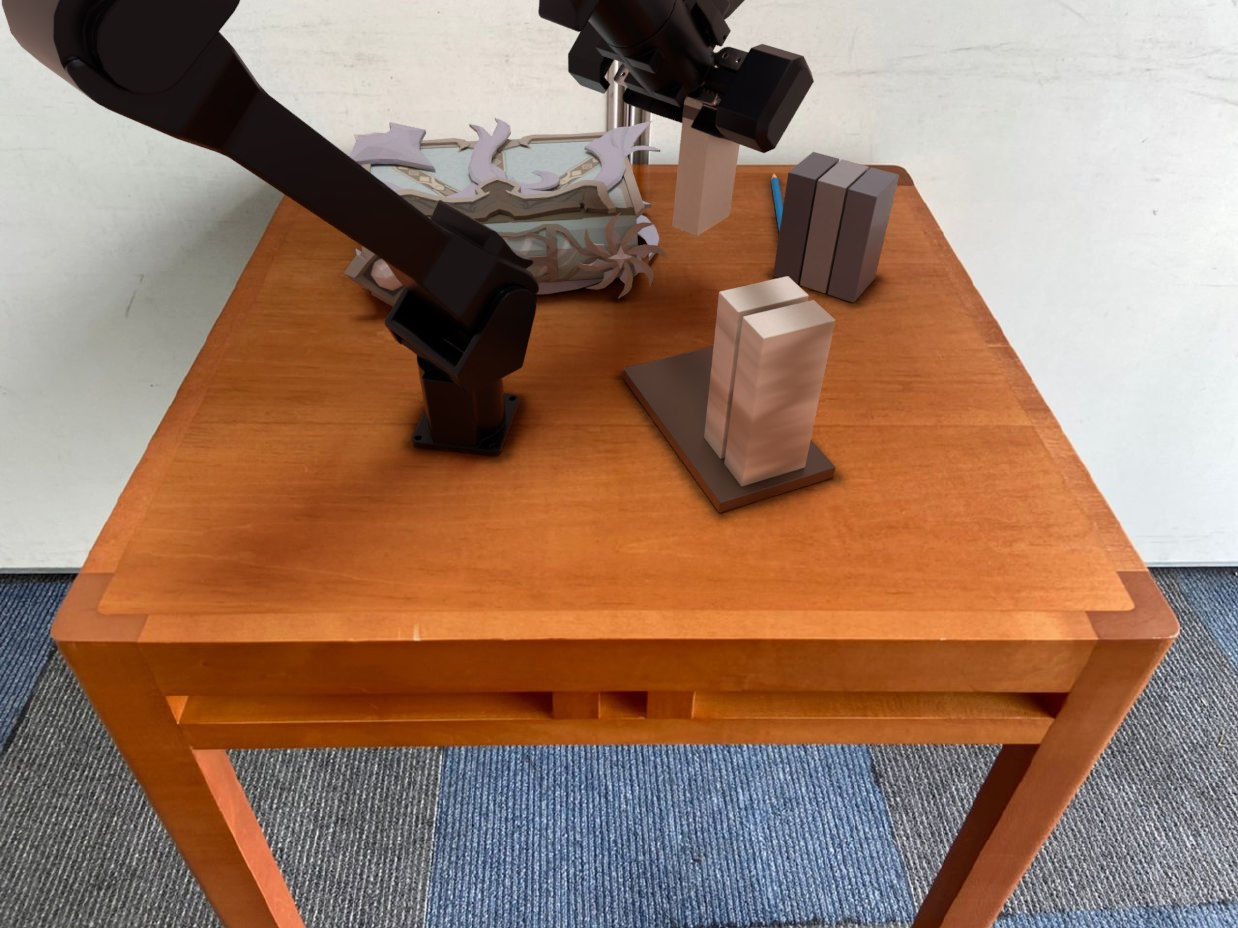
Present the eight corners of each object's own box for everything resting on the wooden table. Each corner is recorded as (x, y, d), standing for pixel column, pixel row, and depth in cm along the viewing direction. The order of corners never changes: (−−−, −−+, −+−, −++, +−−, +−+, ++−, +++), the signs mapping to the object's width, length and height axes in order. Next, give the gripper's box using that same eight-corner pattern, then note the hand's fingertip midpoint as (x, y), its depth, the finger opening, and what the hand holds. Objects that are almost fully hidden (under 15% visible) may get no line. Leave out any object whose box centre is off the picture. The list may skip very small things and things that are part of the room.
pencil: (781, 256, 85) (782, 249, 84) (769, 176, 97) (770, 170, 97) (790, 256, 85) (791, 250, 84) (776, 176, 97) (777, 170, 97)
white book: (696, 237, 73) (714, 85, 65) (671, 227, 74) (685, 76, 66) (730, 216, 76) (751, 68, 68) (705, 206, 77) (722, 60, 69)
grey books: (853, 303, 79) (877, 196, 73) (772, 276, 82) (788, 171, 76) (875, 279, 82) (899, 174, 76) (796, 253, 86) (813, 151, 79)
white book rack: (718, 513, 60) (739, 353, 51) (622, 378, 71) (625, 226, 62) (833, 477, 63) (871, 319, 54) (724, 353, 74) (741, 204, 65)
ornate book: (345, 333, 76) (694, 300, 79) (317, 230, 70) (698, 197, 72) (363, 209, 93) (651, 185, 95) (341, 116, 86) (651, 93, 89)
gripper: (823, -82, 53) (881, 70, 66) (595, -129, 62) (686, 13, 76) (726, 88, 54) (802, 204, 67) (515, 17, 63) (619, 132, 76)
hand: (724, 131), depth 72 cm, fingers closed on white book, 3 cm apart
